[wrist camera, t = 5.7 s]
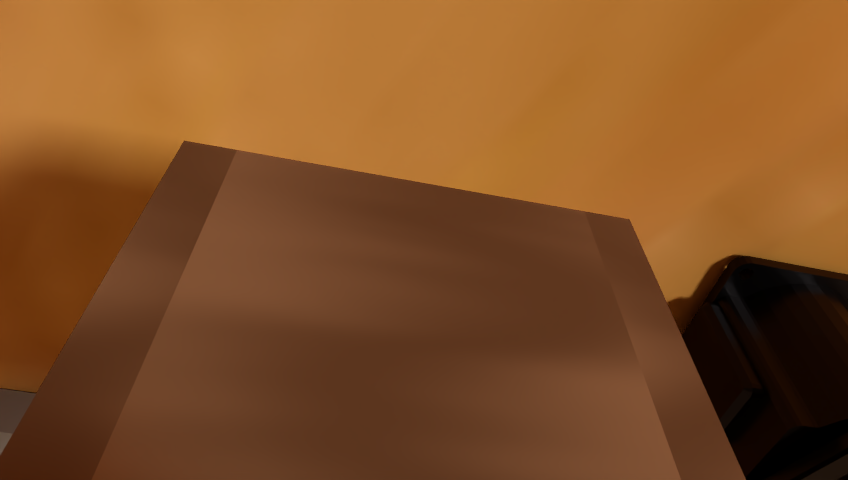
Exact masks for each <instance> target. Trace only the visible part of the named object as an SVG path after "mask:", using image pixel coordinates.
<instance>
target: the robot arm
mask: <svg viewBox="0 0 848 480" xmlns="http://www.w3.org/2000/svg"><path fill="white" fill-rule="evenodd" d="M744 269H747V270H746V271H744V272H741V271H742V270H744ZM682 338H683V340H684V342H685V345H686V347H687V349H688V351H689V353H690V356H691V358H692V360H693V362H694V365H695V367H696V369H697V371H698V374H699V376H700V378H701V380H702V383H703V385H704V387H705V389H706V391H707V394H708V396H709V398H710V400H711V403H712V405H713V407H714V409H715V412H716V414H717V416H718V418H719V420H720V423H721V425H722V427H723V429H724V432H725V434H726V436H727V438H728V441H729V443H730V445H731V447H732V449H733V452H734V454H735V456H736V458H737V461H738V463H739V465H740V467H741V470H742V472H743V474H744V476H745V479H746V480H848V275H847V274H841V273H836V272H831V271H825V270H820V269H815V268H809V267H804V266H799V265H793V264H788V263H783V262H777V261H772V260H766V259H761V258H756V257H750V256H742V257H738V258H736V259H734V260H733V261H732V262H731V263H730V264H729V265H728V266H727V268H726V270H725V271H724V273H723V274H722V276H721V277H720V279H719V280H718V282H717V283H716V285H715V286H714V288H713V289H712V291H711V292H710V294H709V296H708V297H707V299H706V300H705V302H704V303H703V305H702V306H701V308H700V309H699V311H698V312H697V314H696V315H695V317H694V318H693V320H692V321H691V323H690V324H689V326H688V327H687V329H686V331H685V332H684V334H683V335H682Z"/></svg>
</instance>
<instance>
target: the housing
mask: <svg viewBox="0 0 848 480" xmlns="http://www.w3.org/2000/svg"><path fill="white" fill-rule="evenodd" d="M0 480H746V479H745V476H744V474H743V472H742V470H741V467H740V465H739V463H738V461H737V458H736V456H735V454H734V452H733V449H732V447H731V445H730V443H729V441H728V438H727V436H726V434H725V432H724V429H723V427H722V425H721V423H720V420H719V418H718V416H717V414H716V412H715V409H714V407H713V405H712V403H711V400H710V398H709V396H708V394H707V391H706V389H705V387H704V385H703V383H702V380H701V378H700V376H699V374H698V371H697V369H696V367H695V365H694V362H693V360H692V358H691V356H690V353H689V351H688V349H687V347H686V345H685V342H684V340H683V338H682V336H681V333H680V331H679V329H678V327H677V324H676V322H675V320H674V318H673V316H672V313H671V311H670V309H669V307H668V304H667V302H666V300H665V298H664V295H663V293H662V291H661V289H660V287H659V284H658V282H657V280H656V278H655V275H654V273H653V271H652V269H651V266H650V264H649V262H648V260H647V257H646V255H645V253H644V251H643V249H642V246H641V244H640V242H639V240H638V237H637V235H636V233H635V231H634V228H633V226H632V224H631V222H630V220H629V219H624V218H618V217H613V216H607V215H601V214H596V213H590V212H584V211H579V210H573V209H567V208H562V207H556V206H550V205H545V204H539V203H533V202H528V201H522V200H516V199H511V198H505V197H499V196H494V195H488V194H482V193H477V192H471V191H465V190H460V189H454V188H448V187H443V186H437V185H431V184H426V183H420V182H415V181H409V180H403V179H398V178H392V177H386V176H381V175H375V174H369V173H364V172H358V171H352V170H347V169H341V168H335V167H330V166H324V165H318V164H313V163H307V162H301V161H296V160H290V159H284V158H279V157H273V156H267V155H262V154H256V153H250V152H245V151H239V150H233V149H228V148H222V147H217V146H211V145H205V144H200V143H194V142H188V141H184V142H183V144H182V145H181V147H180V149H179V150H178V152H177V154H176V156H175V157H174V159H173V161H172V162H171V164H170V166H169V167H168V169H167V171H166V173H165V174H164V176H163V178H162V179H161V181H160V183H159V185H158V186H157V188H156V190H155V191H154V193H153V195H152V197H151V198H150V200H149V202H148V203H147V205H146V207H145V209H144V210H143V212H142V214H141V215H140V217H139V219H138V221H137V222H136V224H135V226H134V227H133V229H132V231H131V233H130V234H129V236H128V238H127V239H126V241H125V243H124V244H123V246H122V248H121V250H120V251H119V253H118V255H117V256H116V258H115V260H114V262H113V263H112V265H111V267H110V268H109V270H108V272H107V274H106V275H105V277H104V279H103V280H102V282H101V284H100V286H99V287H98V289H97V291H96V292H95V294H94V296H93V298H92V299H91V301H90V303H89V304H88V306H87V308H86V309H85V311H84V313H83V315H82V316H81V318H80V320H79V321H78V323H77V325H76V327H75V328H74V330H73V332H72V333H71V335H70V337H69V339H68V340H67V342H66V344H65V345H64V347H63V349H62V351H61V352H60V354H59V356H58V357H57V359H56V361H55V363H54V364H53V366H52V368H51V369H50V371H49V373H48V374H47V376H46V378H45V380H44V381H43V383H42V385H41V386H40V388H39V390H38V392H37V393H36V395H35V397H34V398H33V400H32V402H31V404H30V405H29V407H28V409H27V410H26V412H25V414H24V416H23V417H22V419H21V421H20V422H19V424H18V426H17V428H16V429H15V431H14V433H13V434H12V436H11V438H10V440H9V441H8V443H7V445H6V446H5V448H4V450H3V451H2V453H1V455H0Z"/></svg>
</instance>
